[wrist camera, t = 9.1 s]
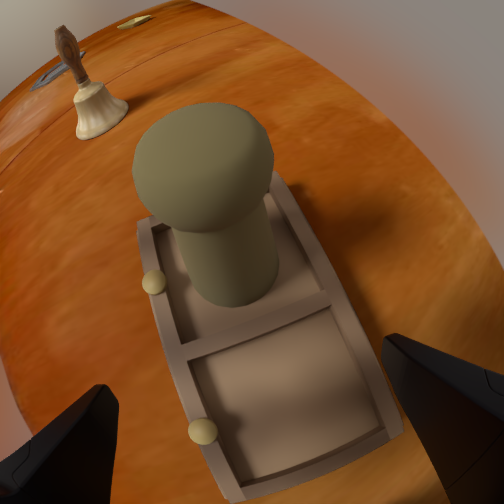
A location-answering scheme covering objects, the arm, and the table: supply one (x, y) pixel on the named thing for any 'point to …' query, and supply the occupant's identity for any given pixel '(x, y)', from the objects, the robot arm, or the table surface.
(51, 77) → the grey hexagonal frame
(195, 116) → the olive pepper mill
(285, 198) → the divided tray
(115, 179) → the table surface
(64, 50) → the hand bell
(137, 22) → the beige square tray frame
